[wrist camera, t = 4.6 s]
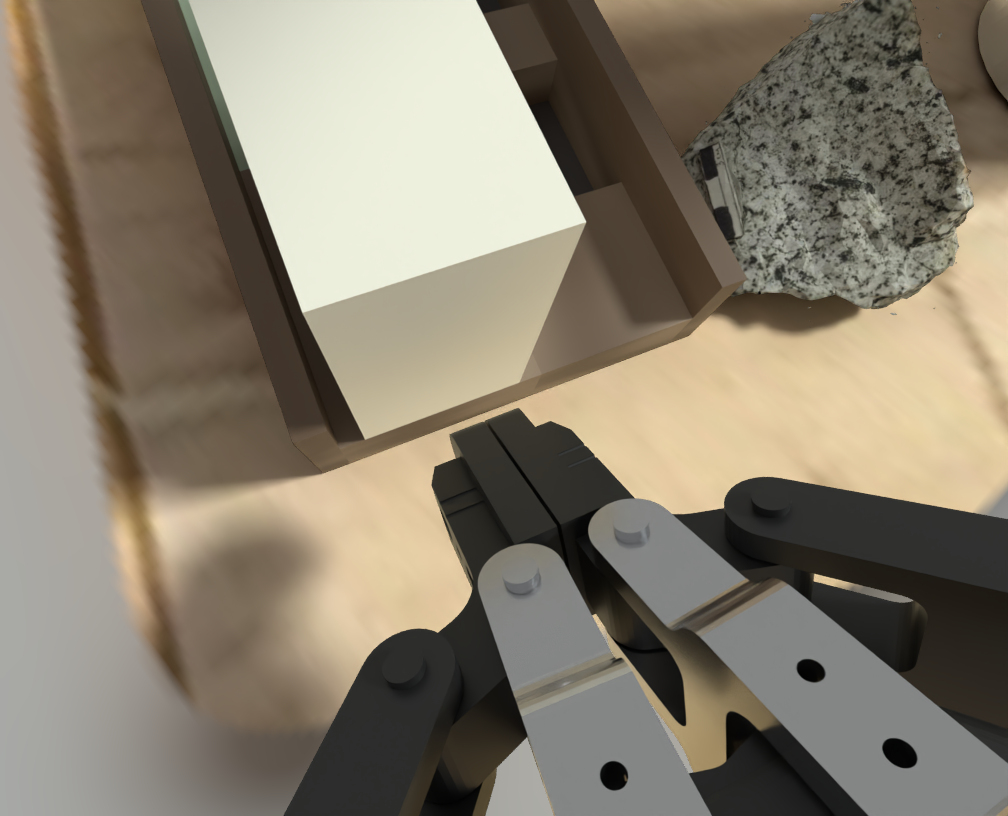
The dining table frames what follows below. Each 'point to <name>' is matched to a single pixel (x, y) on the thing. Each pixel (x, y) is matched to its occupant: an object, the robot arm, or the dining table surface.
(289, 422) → the box
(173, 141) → the dining table surface
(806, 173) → the rock sample
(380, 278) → the brick
